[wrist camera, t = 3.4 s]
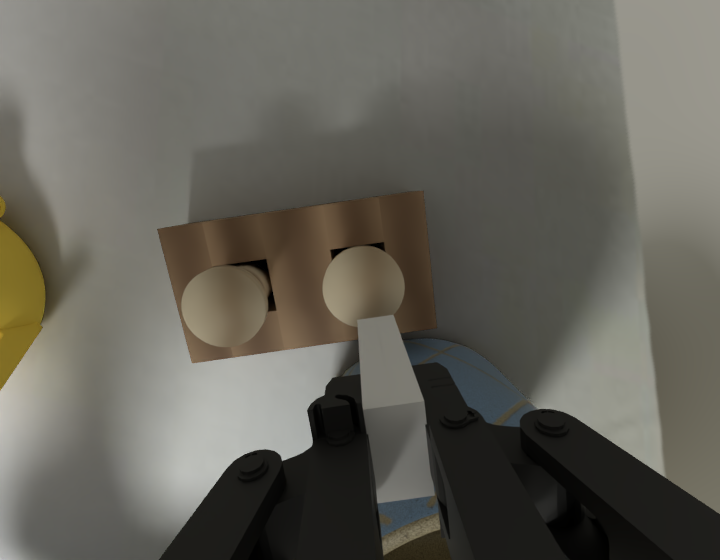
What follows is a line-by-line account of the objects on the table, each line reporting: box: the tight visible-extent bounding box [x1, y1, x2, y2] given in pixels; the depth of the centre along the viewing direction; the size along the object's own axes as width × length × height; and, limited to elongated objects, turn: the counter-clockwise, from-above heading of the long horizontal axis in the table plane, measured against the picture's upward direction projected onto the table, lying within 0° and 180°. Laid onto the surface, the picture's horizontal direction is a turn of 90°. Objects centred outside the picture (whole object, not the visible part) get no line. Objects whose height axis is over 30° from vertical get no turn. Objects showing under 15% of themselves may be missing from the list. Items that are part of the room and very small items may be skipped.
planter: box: [341, 338, 538, 560], centre depth 31 cm, size 23×23×24 cm
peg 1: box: [181, 263, 272, 347], centre depth 30 cm, size 6×6×7 cm
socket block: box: [157, 191, 437, 363], centre depth 35 cm, size 22×12×6 cm, turn 98°
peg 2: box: [323, 245, 405, 327], centre depth 30 cm, size 6×6×7 cm
